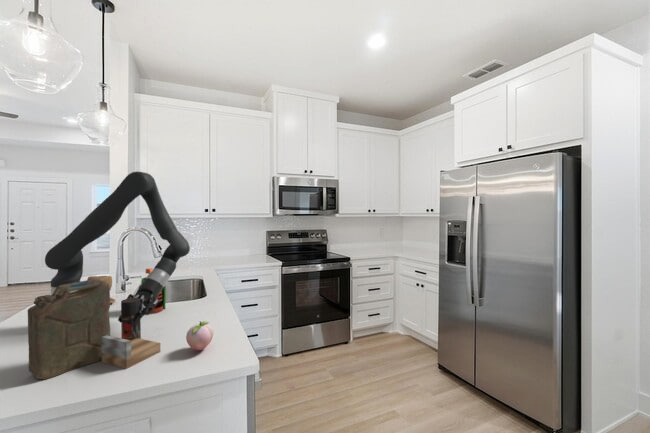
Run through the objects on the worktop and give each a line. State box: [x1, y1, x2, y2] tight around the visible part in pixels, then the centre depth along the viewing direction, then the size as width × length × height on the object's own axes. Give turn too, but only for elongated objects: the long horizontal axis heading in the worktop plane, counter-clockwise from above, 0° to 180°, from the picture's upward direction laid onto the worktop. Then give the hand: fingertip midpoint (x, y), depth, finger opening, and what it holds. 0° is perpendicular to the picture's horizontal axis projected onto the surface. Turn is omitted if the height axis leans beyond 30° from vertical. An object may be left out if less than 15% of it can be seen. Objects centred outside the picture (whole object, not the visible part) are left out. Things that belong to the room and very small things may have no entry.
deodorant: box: [120, 298, 142, 340], centre depth 113 cm, size 6×6×15 cm
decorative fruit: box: [185, 320, 214, 351], centre depth 106 cm, size 9×8×10 cm
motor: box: [140, 267, 167, 316], centre depth 146 cm, size 10×9×20 cm
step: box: [101, 335, 161, 369], centre depth 101 cm, size 11×12×8 cm
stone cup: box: [86, 275, 116, 304], centre depth 154 cm, size 15×12×15 cm
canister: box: [27, 279, 111, 380], centre depth 95 cm, size 19×8×25 cm, turn 147°
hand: (126, 322), depth 111 cm, fingers closed on deodorant, 6 cm apart
